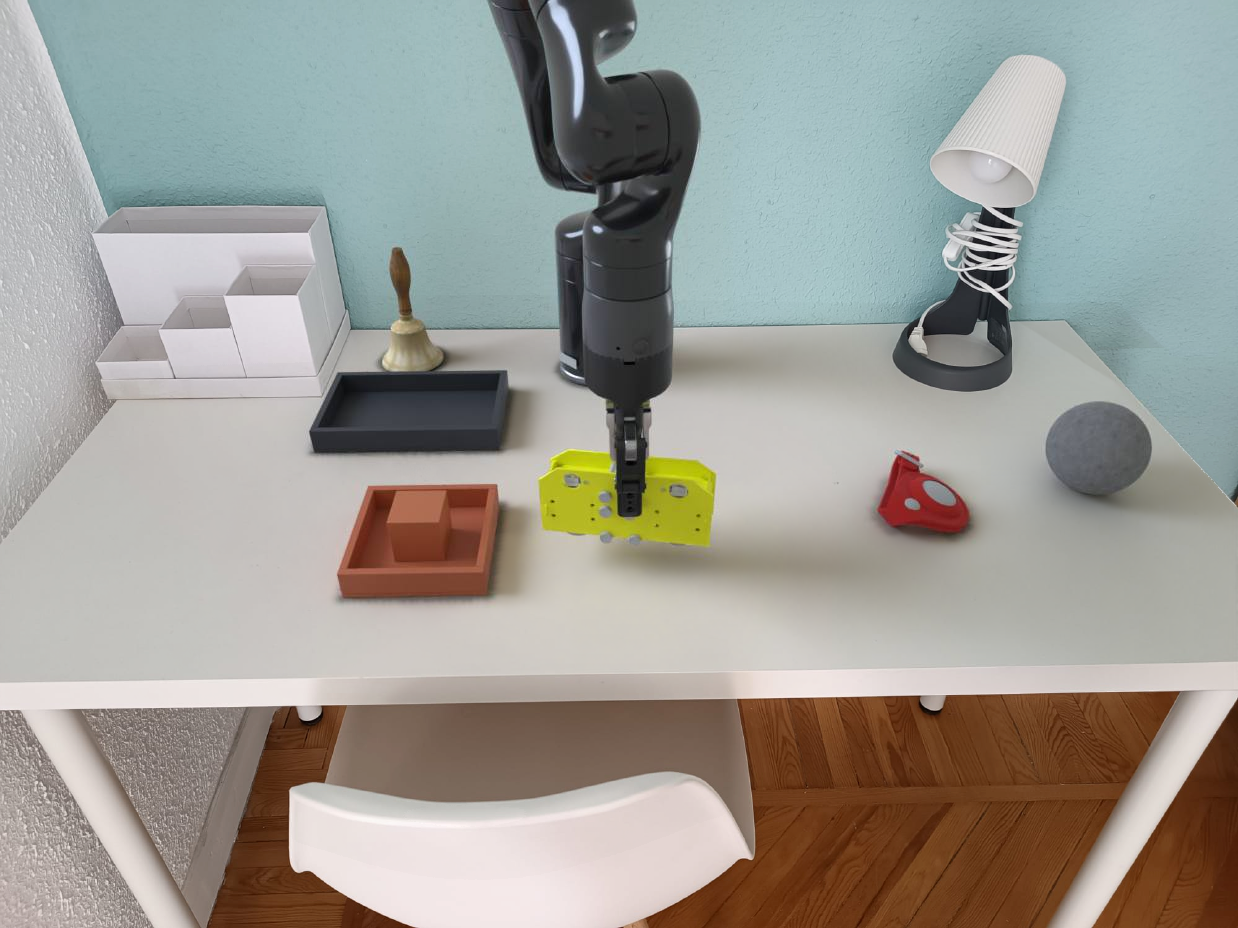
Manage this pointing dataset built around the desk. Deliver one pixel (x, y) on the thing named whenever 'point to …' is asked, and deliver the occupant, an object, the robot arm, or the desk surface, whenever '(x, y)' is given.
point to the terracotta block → (420, 526)
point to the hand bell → (408, 327)
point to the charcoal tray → (412, 411)
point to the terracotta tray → (459, 575)
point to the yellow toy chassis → (588, 499)
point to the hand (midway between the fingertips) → (628, 490)
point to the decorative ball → (1098, 447)
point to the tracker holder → (920, 498)
